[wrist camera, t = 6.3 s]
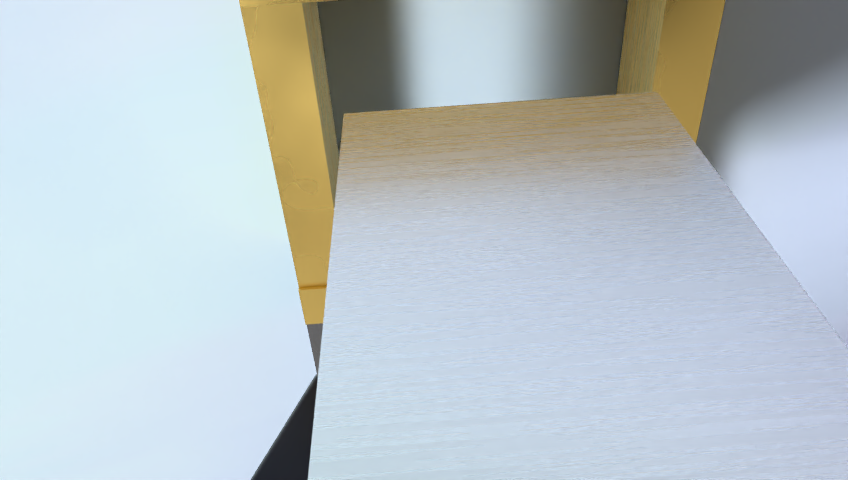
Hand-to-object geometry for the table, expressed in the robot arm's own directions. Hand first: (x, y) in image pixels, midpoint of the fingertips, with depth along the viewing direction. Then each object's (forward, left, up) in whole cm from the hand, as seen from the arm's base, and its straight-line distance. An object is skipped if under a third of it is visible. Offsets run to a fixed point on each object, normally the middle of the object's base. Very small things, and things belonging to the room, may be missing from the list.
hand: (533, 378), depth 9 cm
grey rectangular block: (0, 0, -3) cm, 3 cm away
